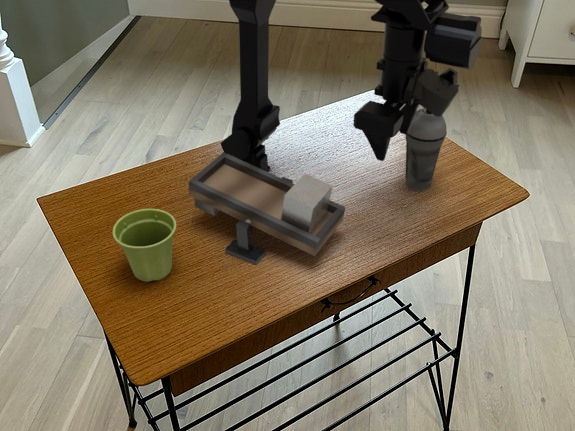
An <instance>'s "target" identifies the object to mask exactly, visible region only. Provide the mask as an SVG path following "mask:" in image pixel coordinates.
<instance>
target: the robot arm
mask: <svg viewBox="0 0 575 431" xmlns="http://www.w3.org/2000/svg"><path fill="white" fill-rule="evenodd" d="M228 1H229V2H228V3H229V6H230V8H231V10H232V12H233V13H234V15H235V17H236V19H237V21H238V36H239V37H238V43H239V46H238V48H239V82H240V83H239V84H240V85H239V86H240V88H239V92H240V95H239V96H240V99H239V103H238V104H237V107H236V110H235V111H234V114H233V118H232V124H231V134H230V135H228V136H227V137H226V138H225V139H223V140H222V141H221V142H220V146H221V149H222V152H224V153H226V154H228V155H231V156H233V157H235V158H237V159H240V160H242V161H244V162H246V163H249V164H251V165H253V166H255V167H257V168H260V169H262V170H264V171H266V172H269V171H270V170H271V166H270V165H269V163H268V161H269V160H268V154H267V153H266V145H265V144H263V143H264V142H266V140H268V139H269V138H270V136H272V135H273V134H274V133H275V132H276V130H277V128H278V127H279V126H280V125H281V122H280V116H279V115H280V110H281V108H280V107H281V106H280V105H275V104H273V102H272V101H271V99H270V97H269V52H270V50H269V42H270V41H269V40H270V39H269V37H270V36H269V34H270V33H269V32H270V31H269V30H270V26H269V25H270V16H271V14H272V12H273V10H274V7H275V4H276V2H277V0H228ZM373 1H374V2H375V3H377V4H379V5H381V7H380V8H379V9H378V10H377V11H376V12H374V13H373V14H371V16H370V20H371V21H373V22H376V23H377V22H378V23H382V24H384V33H383V45H382V53H381V54H382V55H381V58H380V59H379V60H378V61H377V62H376V70H378V71H379V70H380V80H379V84H378V85H377V86H376V87H375V88H374V93H373V94H374V96H379V97H381V99H382V100H384V101H385V102H383V103H381V102H377V101H374V100H369V101H367V102H366V103H365V104H362V106H361V107H360V108H359V109H357V111H356V112H355V113H354V114H353V127H354V128H355V129H357V130H360V131H362V133H363V134H364V136H365V138H366V139H367V142H368V143H369V145H370V148H371V150H372V152H373V154H374V156H375V158H376V159H377V161H381V162H385V159H386V155H387V153H388V149H389V146H390V143H391V142H390V141H391V138H394V137H395V136H396V135H398V133H400V134H403V135H405V134H406V133H407V132H408V129H409V127H410V125H411V122H412V120H413V117H414V115H415V113H416V111H417V110H418V108H419V106H421V107H422V108H423V107H424V108H426V109H427V110H429V111H430V112H431V114H433V115H435V116H438V117H440V116H443V115H444V114H445V112H446V111H447V110H448V109H449V107H450V105H451V104H452V102H453V100H454V99H455V97H456V96H457V94H458V93H459V87H460V84H459V83H458V75H459V74H458V71H456V70H455V69H453V68H450V67H448V68H446V69H445V70H443V71H442V72H440V73H439V71H435V70H434V69H432V68H428V65H429V62H428V61H427V59H428V60H429V61H430V62H433V63H436V64H437V63H438V64H442V65H445V66H452V67H456V68H460V69H465V70H472V69H473V67H474V66H475V63H476V62H477V60H478V57H479V53H480V50H481V46H482V42H483V36H482V33H483V32H482V26H481V23H482V18H481V17H480V16H476V15H462V14H455V13H450V12H449V13H448V12H447V11H448V10H449V8H450V5H449V4H448V2H447V0H373ZM423 3H425V4H426V5H427V6H426V7H425V8H424V6H423ZM424 53H425V55H424ZM423 55H424V56H425V57H423Z"/></svg>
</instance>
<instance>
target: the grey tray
mask: <svg viewBox="0 0 575 431" xmlns="http://www.w3.org/2000/svg"><path fill="white" fill-rule="evenodd" d="M295 184H296V183H294V182H293V183H291V182H289V181H286V180H284V179H282V177H280V176H277V175H275V174H273V173H271V172H269V171H268V172H266V171H264V170H262V169H260V168H257V167H255V166H253V165H251V164H249V163H246V162H244V161H242V160H240V159H237V158H235V157H233V156H231V155H229V154H226V153H224V151H222V153H220V154H219V155H218V156H217V157H215V159H213V160H212V161H210V163H209V164H207V165H206V166H205V167H203V169H201V170H200V171H199V172H198V173H197V174H196V175H194V176H193V177H192V178H190V180H188V196H190V197H191V198H194V207H195V208H197V209H199V210H201V211H203V212H205V213H207V214H210V215H212V216H214V217H215V215H217V214H218V213H219V212H223V213H224V214H227V215H228V216H231V217H234V218H235V219H238V220H239V221H240V220H241V221H244V222H247V223H250V224H251V227H253V228H256V229H258V230H260V231H262V232H264V233H265V234H267V235H270V236H271V237H274V238H277V239H278V240H280V241H283V242H285V243H286V244H289V245H290V246H293V247H295V248H297V249H299V250H301V251H303V252H306V253H307V254H309V255H311V256H314V257H315V256H316V255H317V254H318V253H319V251H320V250H321V249H322V248H323V247H324V245H325V244H326V242H327V241H328V240H329V239H330V238H331V236H332V235H333V234H334V232H335V231H336V230H337V228H338V227H339V225H340V224H341V223H342V222H343V221H344V216H345V211H346V206H344V205H341V204H340V203H337V202H336V201H333V200H331V199H330V201H329V206H328V211H327V214H326V215H325V217H324V218H323V219H322V220H321V221H320V223H319V224H318V225H317V226H316V228H315V229H314V230H313V231H312V232H311V234H309V233H307V232H305V231H303V230H301V229H299V228H297V227H294V226H292V225H290V224H288V223H286V222H284V221H282V220H281V216H282V209H283V202H284V195H285V194H286V193H287V192H288V191H289V190H290V189H291V188H292V187H293V186H294V185H295Z"/></svg>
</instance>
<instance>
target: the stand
mask: <svg viewBox="0 0 575 431" xmlns="http://www.w3.org/2000/svg"><path fill="white" fill-rule="evenodd" d="M281 178H282V179H284V180H286V181H289V182H291V183H293V184H294V182H293V181H294V180H293V179H290V178H287V177H284V176H282V177H281ZM235 226H236V238H234V239H233V240H232V241H231V242H230V243H229V244H228V245H227V246H226V247H225V249H224V252H225V254H228V255H230V256H232V257H235V258H238V259H240V260H242V261H243V260H244V261H246V262H248V263H250V264H253V265H255V266H257V265H258V264H259V262H261V260H262V259H263V258H264V257H265V255H267V250H266V249H265V248H261V247H259V246H256V245H253V237H252V236H253V235H252V233H253V232H252V226H251V224H250V223H247V222H244V221H241V220H239V221H237V223H235Z"/></svg>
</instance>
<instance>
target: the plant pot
mask: <svg viewBox="0 0 575 431" xmlns="http://www.w3.org/2000/svg"><path fill="white" fill-rule="evenodd" d="M176 230H177V222H176V218H175V217H174V216H173V215H172V214H171V213H169V212H168V211H165V210H162V209H159V208H158V209H157V208H142V209H136V210H134V211H130V212H129V213H126V214H124V215H123V216H121V217H120V218H119V219H118V220H117V221H116V222H115V224H114V225H113V228H112V236H113V238H114V240H115V242H116V243H117V244H118V245H119V246H120V247H121V249H123V253H124V255H125V257H126V259H127V261H128V265H129V267H130V268H131V271H132V273H133V275H134V278H137V279H138V281H142V282H147V283H149V282H152V281H161V280H163V279H164V278H167V276H168V275H169V274H170V273H171V271H172V268H173V240H174V236H175V235H174V234H175V232H176Z"/></svg>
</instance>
